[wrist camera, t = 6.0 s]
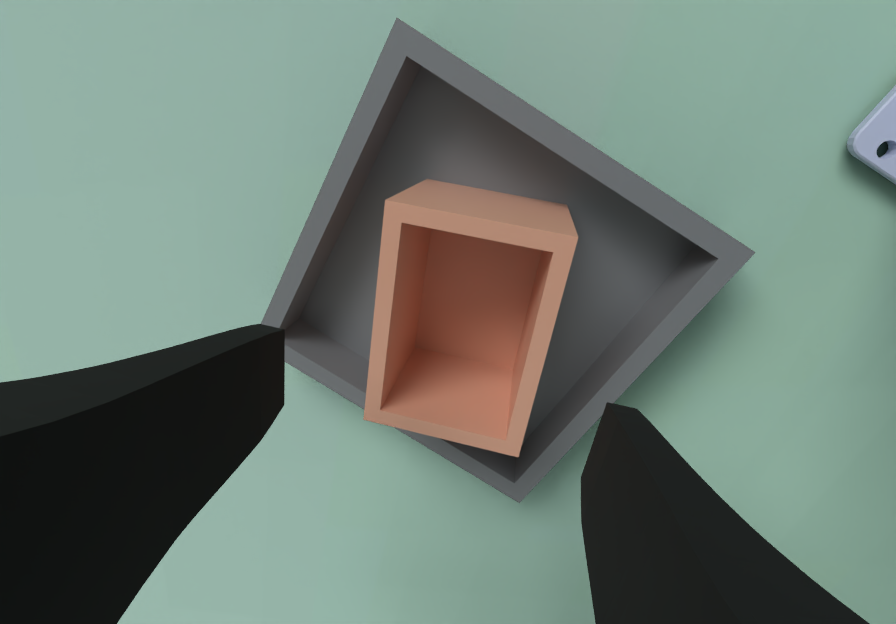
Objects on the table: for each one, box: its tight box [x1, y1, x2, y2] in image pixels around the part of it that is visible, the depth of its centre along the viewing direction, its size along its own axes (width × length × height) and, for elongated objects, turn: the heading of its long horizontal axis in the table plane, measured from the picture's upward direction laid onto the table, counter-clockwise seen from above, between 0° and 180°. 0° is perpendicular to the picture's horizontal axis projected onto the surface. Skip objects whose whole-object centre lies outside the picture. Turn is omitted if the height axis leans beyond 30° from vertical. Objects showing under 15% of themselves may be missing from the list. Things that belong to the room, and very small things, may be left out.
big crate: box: [261, 18, 755, 503], centre depth 17 cm, size 12×12×3 cm
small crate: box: [364, 179, 578, 457], centre depth 15 cm, size 5×7×5 cm
